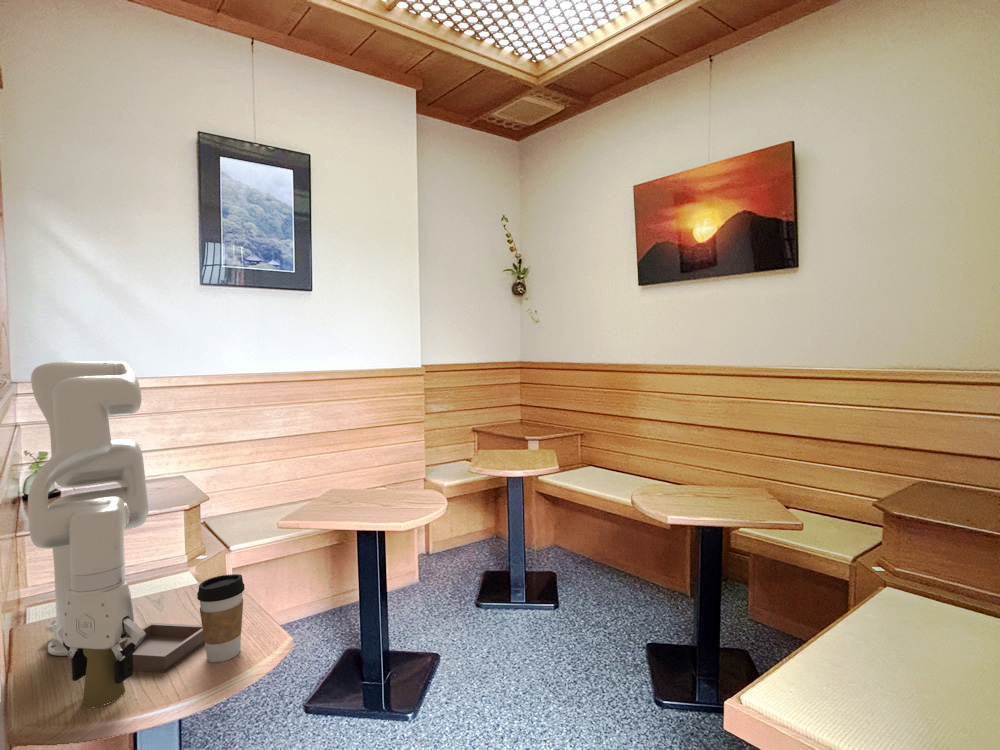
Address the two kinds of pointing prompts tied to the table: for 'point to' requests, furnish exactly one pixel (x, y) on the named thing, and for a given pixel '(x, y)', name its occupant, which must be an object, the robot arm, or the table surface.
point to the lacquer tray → (166, 646)
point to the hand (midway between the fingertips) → (103, 677)
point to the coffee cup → (221, 615)
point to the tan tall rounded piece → (100, 678)
